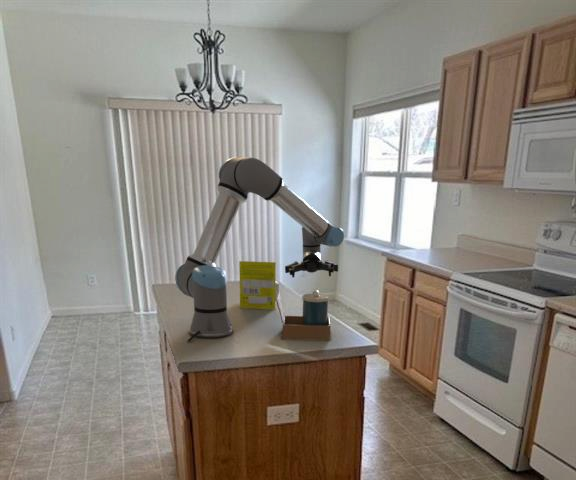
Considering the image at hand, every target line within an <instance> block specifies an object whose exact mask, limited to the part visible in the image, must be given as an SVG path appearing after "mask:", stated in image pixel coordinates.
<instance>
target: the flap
mask: <svg viewBox="0 0 576 480" xmlns="http://www.w3.org/2000/svg"><path fill="white" fill-rule="evenodd" d="M275 302H276V304H277V309H278V312H279V313H278V314H279V317H280V320H281V323H282V324H283V321H284V316H285V315H286V314H285V309H284V306H283V302H282V298H281V294H280V292H279V293H278V296H277V300H275Z"/></svg>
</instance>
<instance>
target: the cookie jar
mask: <svg viewBox="0 0 576 480" xmlns="http://www.w3.org/2000/svg"><path fill="white" fill-rule="evenodd" d="M301 300H302V316H303V319H302V325H316V326H327V317H329V315H328V314H329V313H328V312H329V300H330V296H329V295H328V294H324V293H320V292H319V290H313V291H312V293H305V294H303V295H302V296H301Z"/></svg>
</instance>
